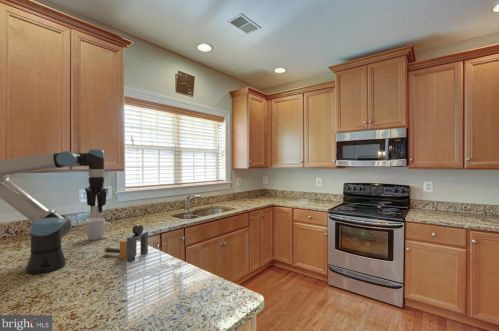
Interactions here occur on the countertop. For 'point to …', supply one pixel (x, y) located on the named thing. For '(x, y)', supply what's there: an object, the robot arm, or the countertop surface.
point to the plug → (122, 249)
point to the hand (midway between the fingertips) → (96, 217)
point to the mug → (96, 228)
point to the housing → (131, 242)
